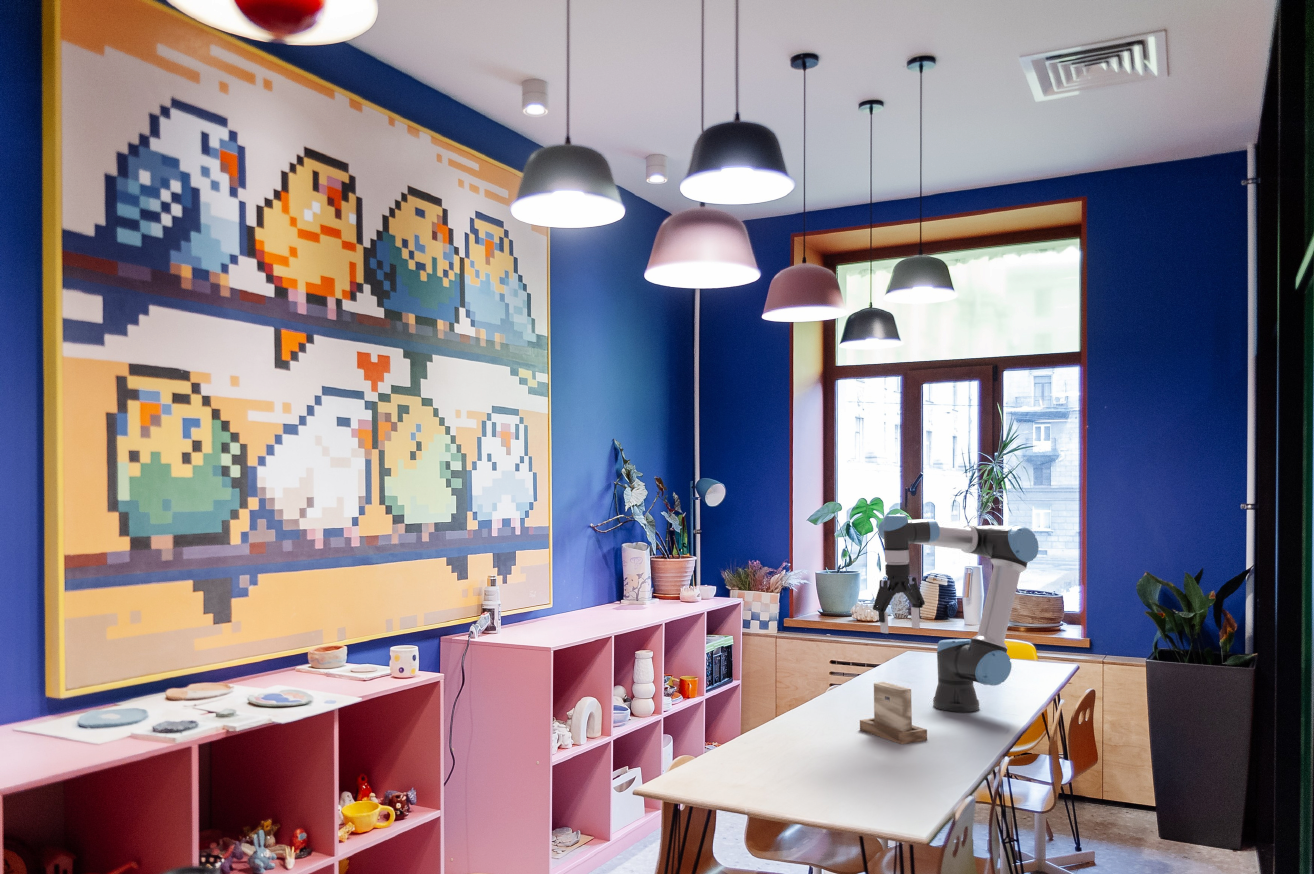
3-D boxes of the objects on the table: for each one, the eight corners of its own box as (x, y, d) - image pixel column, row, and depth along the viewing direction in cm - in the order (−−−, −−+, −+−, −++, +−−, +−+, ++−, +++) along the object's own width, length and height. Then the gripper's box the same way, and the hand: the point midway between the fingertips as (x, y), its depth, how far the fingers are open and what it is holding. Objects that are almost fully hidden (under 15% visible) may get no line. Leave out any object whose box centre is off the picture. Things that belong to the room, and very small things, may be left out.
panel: (884, 727, 283) (883, 681, 284) (912, 736, 273) (911, 688, 274) (874, 729, 282) (873, 683, 282) (901, 738, 271) (900, 690, 272)
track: (884, 726, 288) (884, 716, 288) (927, 739, 271) (927, 729, 272) (859, 729, 283) (859, 720, 283) (901, 744, 267) (901, 733, 267)
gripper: (916, 559, 301) (919, 624, 300) (859, 565, 288) (862, 633, 287) (934, 561, 294) (937, 627, 293) (876, 566, 282) (879, 636, 281)
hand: (900, 630), depth 290 cm, fingers open, 13 cm apart
